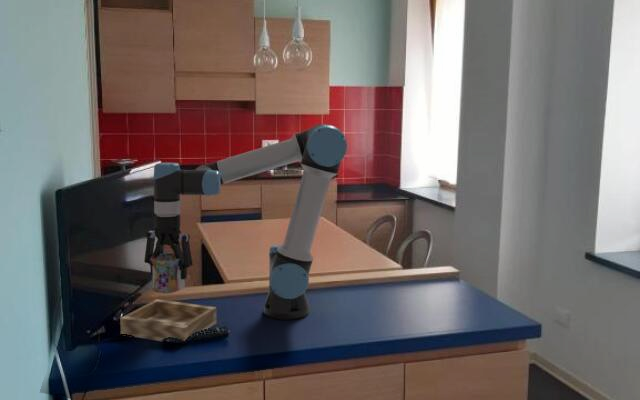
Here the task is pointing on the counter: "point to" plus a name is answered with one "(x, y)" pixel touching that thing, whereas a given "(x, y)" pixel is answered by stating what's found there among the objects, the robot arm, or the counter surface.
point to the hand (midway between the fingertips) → (168, 287)
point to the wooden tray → (167, 320)
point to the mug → (165, 273)
